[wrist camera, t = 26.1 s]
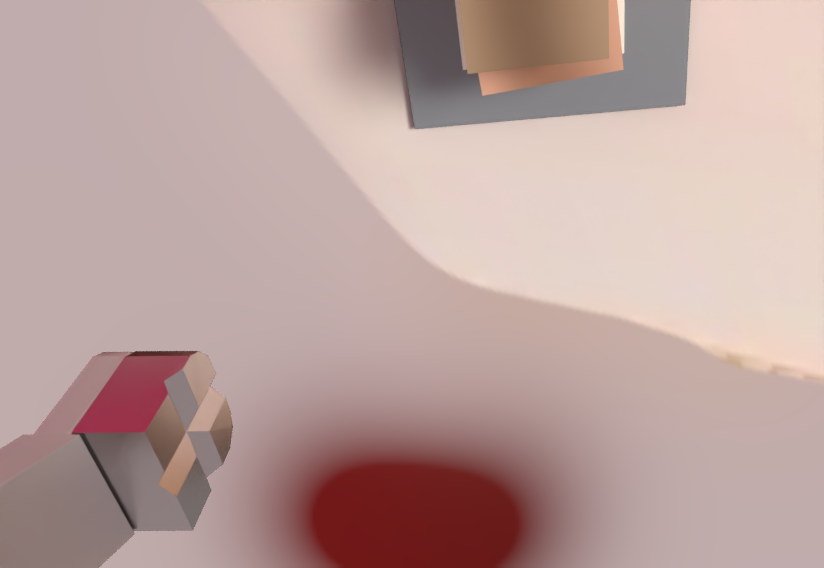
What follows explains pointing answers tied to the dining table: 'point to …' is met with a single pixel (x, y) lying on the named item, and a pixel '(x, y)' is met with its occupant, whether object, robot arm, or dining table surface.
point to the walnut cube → (533, 33)
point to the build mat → (615, 91)
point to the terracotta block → (558, 66)
